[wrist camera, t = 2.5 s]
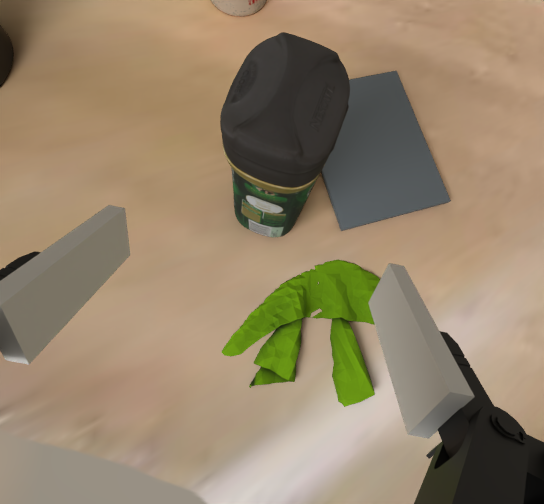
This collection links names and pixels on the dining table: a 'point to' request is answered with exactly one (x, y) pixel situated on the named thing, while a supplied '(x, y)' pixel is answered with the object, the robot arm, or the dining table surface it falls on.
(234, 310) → the dining table surface
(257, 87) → the coffee jar
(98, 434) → the dining table surface
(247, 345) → the cloth
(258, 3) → the teacup with lid
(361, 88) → the mat
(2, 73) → the robot arm
